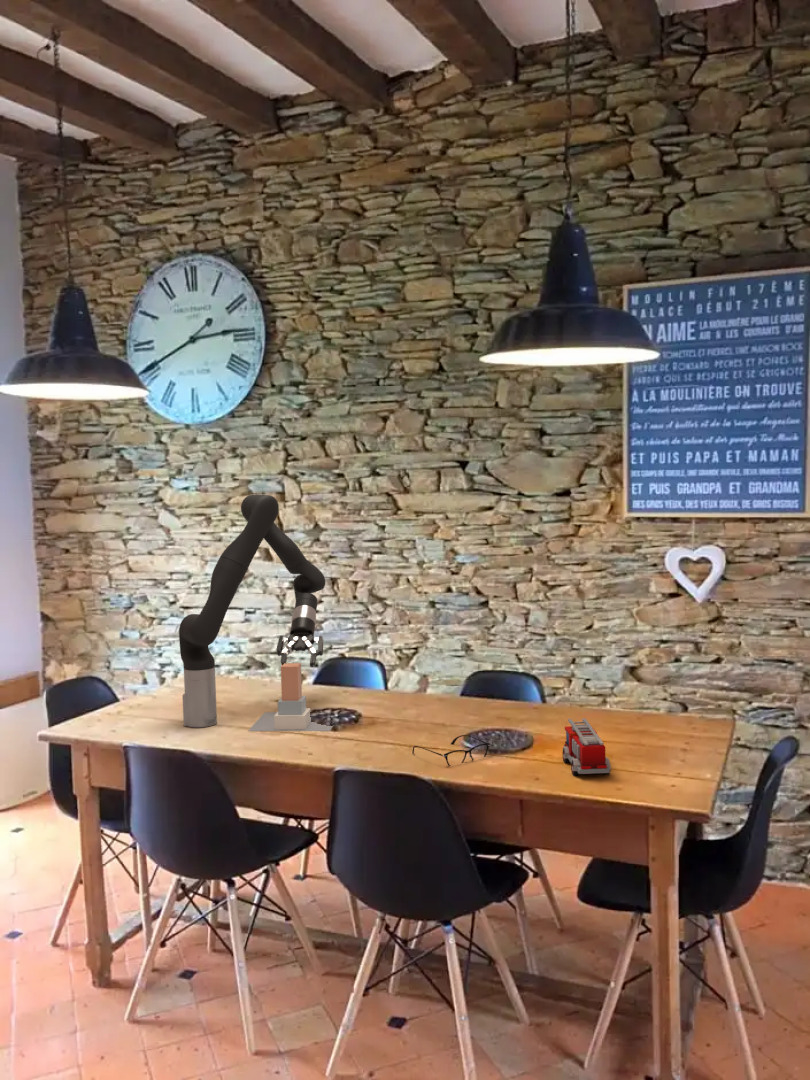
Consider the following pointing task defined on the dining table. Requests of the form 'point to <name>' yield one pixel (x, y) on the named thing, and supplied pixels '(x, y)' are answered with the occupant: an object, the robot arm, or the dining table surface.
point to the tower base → (292, 715)
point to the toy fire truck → (584, 750)
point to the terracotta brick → (291, 681)
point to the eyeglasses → (459, 750)
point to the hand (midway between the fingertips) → (297, 665)
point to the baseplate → (268, 725)
